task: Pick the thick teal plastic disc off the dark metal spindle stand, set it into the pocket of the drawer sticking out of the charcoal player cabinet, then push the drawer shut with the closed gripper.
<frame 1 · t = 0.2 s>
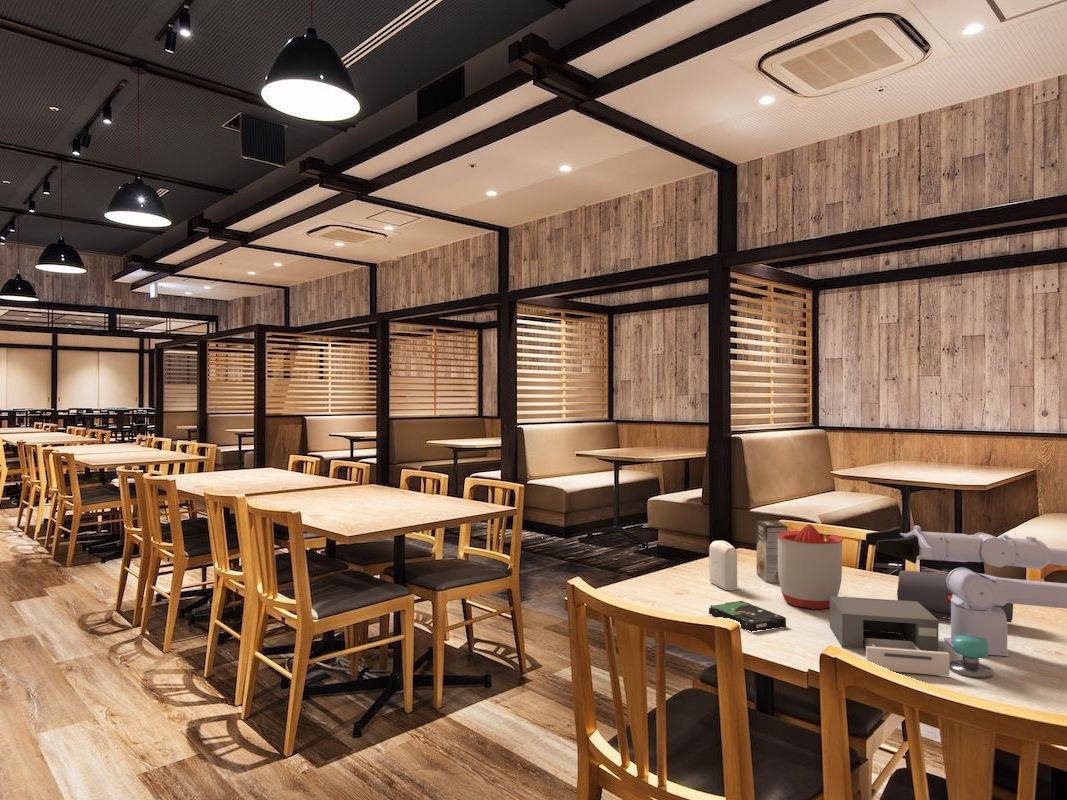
hand: (871, 542, 147), 21 cm above the table, tool horizontal, fingers open, 7 cm apart
bluetooth speaker: (953, 618, 164), on the table
citrus juicer: (810, 603, 176), on the table
disk drive: (746, 623, 161), on the table
player cabinet: (883, 643, 146), on the table
spindle stand: (970, 671, 131), on the table
drawer: (896, 647, 137), point 2 cm above the table, slide at 9.0 cm
disc: (970, 652, 131), point 3 cm above the table, touching spindle stand
coffee box: (771, 579, 200), on the table
photo printer: (722, 587, 191), on the table
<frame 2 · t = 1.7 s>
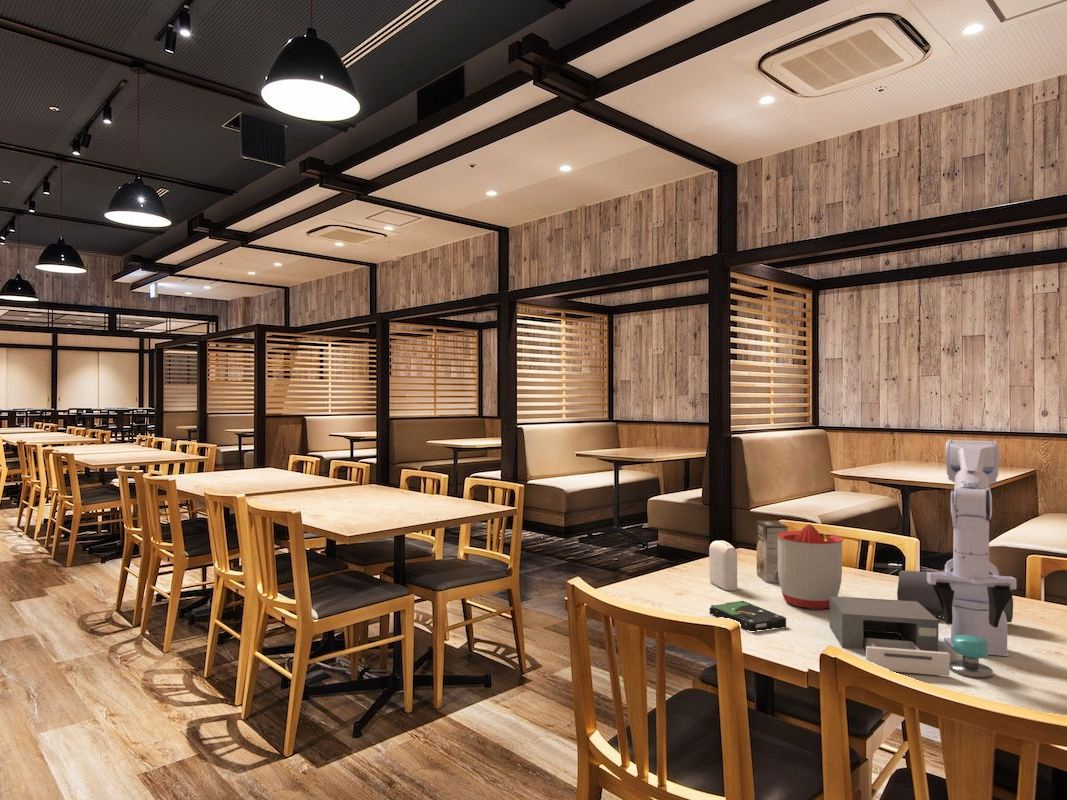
hand: (970, 624, 131), 9 cm above the table, tool pointing down, fingers open, 7 cm apart
nothing on the table moved.
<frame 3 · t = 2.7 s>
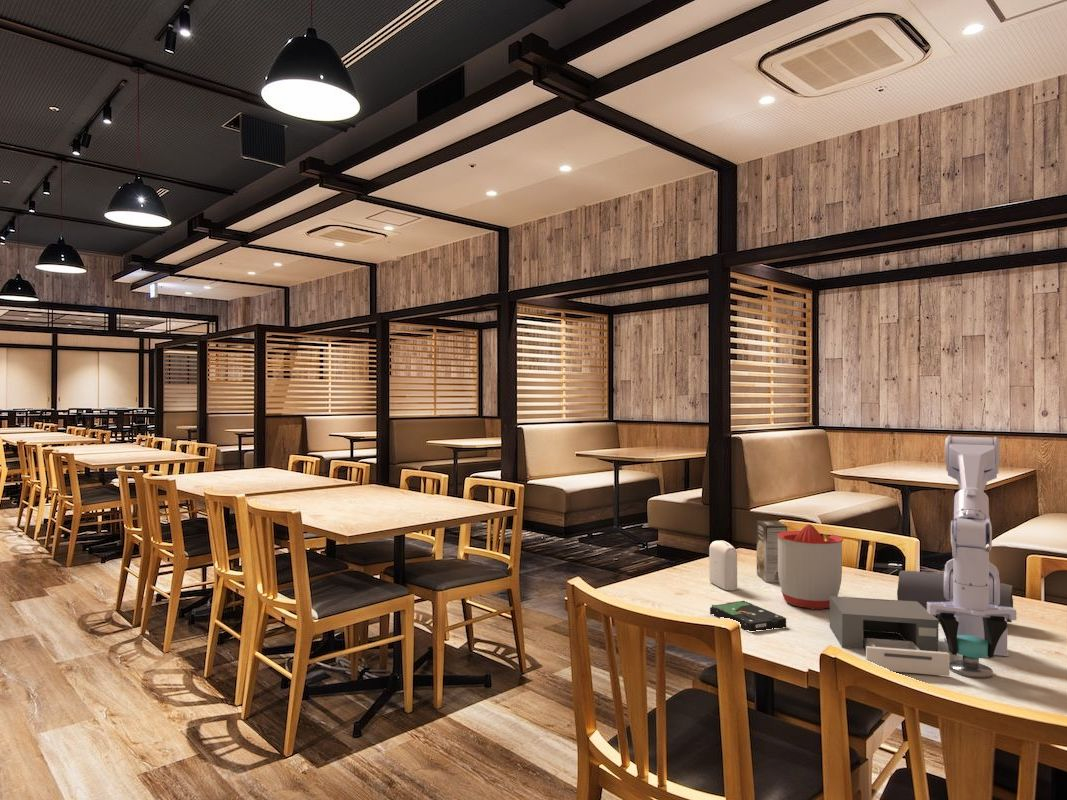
hand: (970, 654, 131), 3 cm above the table, tool pointing down, fingers closed on disc, 5 cm apart
disc: (970, 652, 131), point 3 cm above the table, touching gripper, spindle stand
everything else where it was.
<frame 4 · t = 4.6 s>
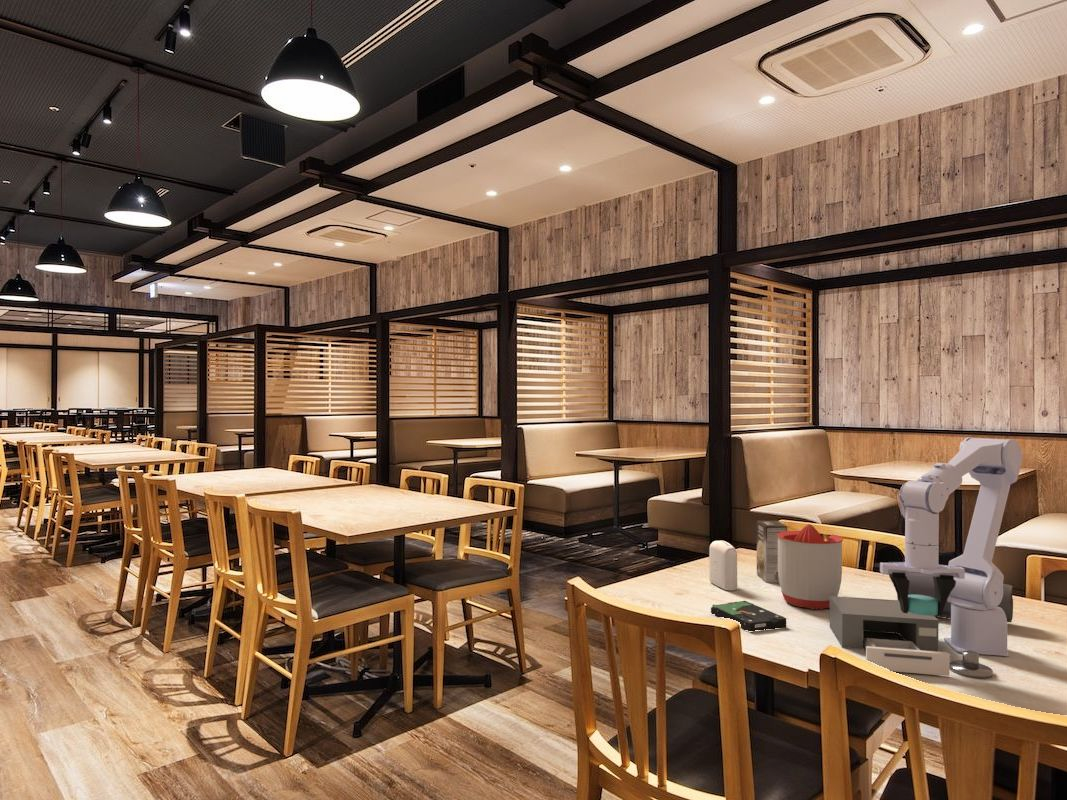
hand: (921, 612, 135), 10 cm above the table, tool pointing down, fingers closed on disc, 5 cm apart
disc: (921, 611, 135), point 10 cm above the table, touching gripper
everything else where it was.
when the fingers open (3 cm above the table, at t = 6.6 s): disc drops 2 cm, resting on drawer.
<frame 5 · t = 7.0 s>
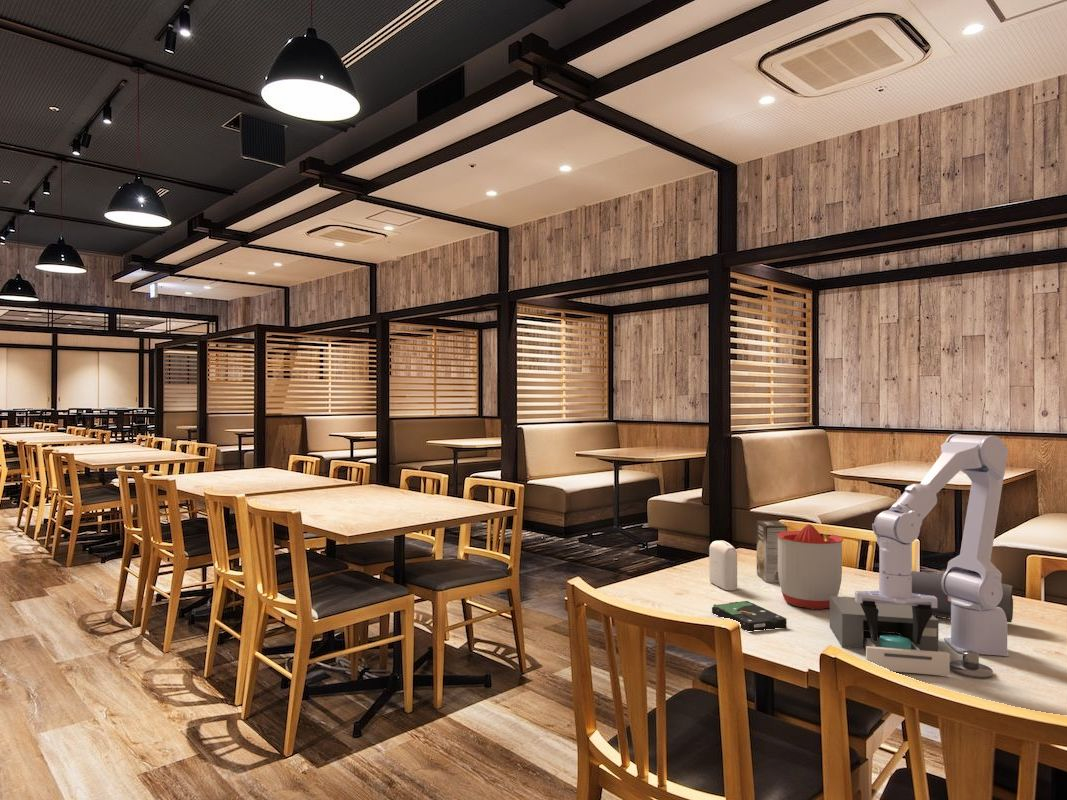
hand: (895, 641, 138), 3 cm above the table, tool pointing down, fingers open, 7 cm apart
drawer: (896, 647, 137), point 2 cm above the table, slide at 9.0 cm, touching disc
disc: (895, 651, 137), point 1 cm above the table, touching drawer
everything else where it was.
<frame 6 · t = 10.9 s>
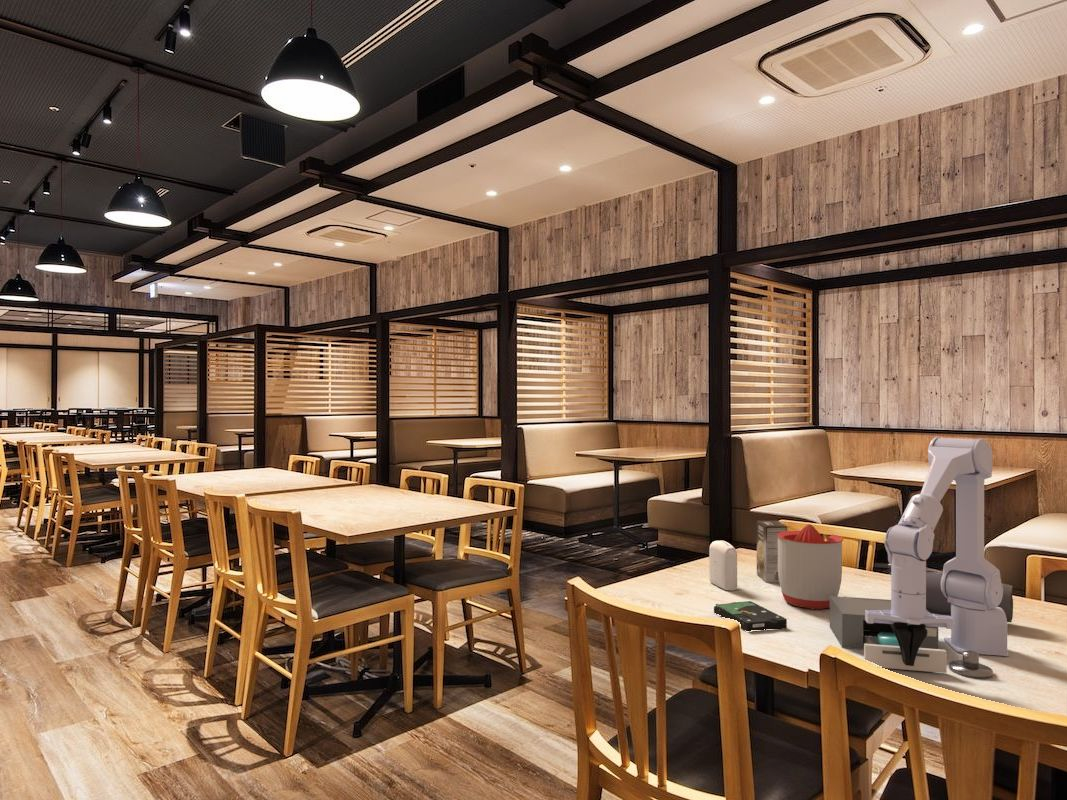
hand: (908, 663, 129), 2 cm above the table, tool pointing down, fingers closed, pressing on drawer
drawer: (894, 645, 138), point 2 cm above the table, slide at 7.5 cm, touching disc, gripper
disc: (893, 649, 139), point 1 cm above the table, touching drawer
everything else where it was.
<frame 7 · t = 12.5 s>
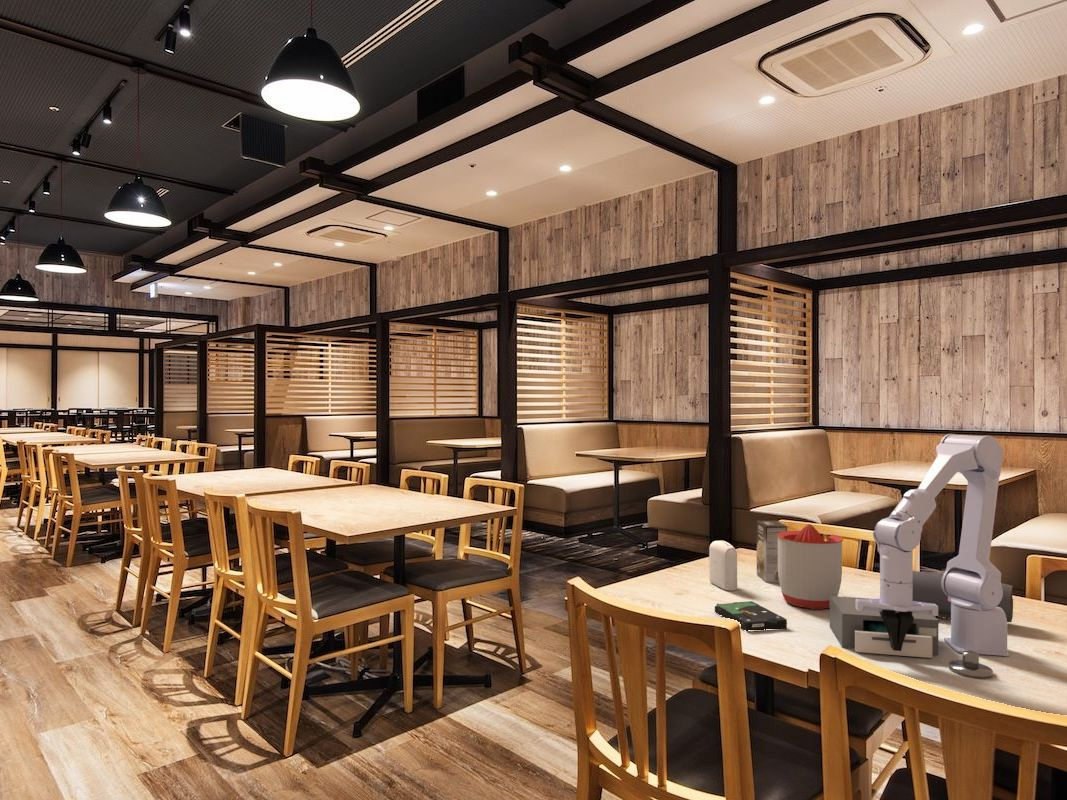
hand: (896, 649, 137), 2 cm above the table, tool pointing down, fingers closed, pressing on drawer
drawer: (883, 632, 146), point 2 cm above the table, slide at -0.3 cm, touching disc, gripper
disc: (882, 636, 146), point 1 cm above the table, touching drawer
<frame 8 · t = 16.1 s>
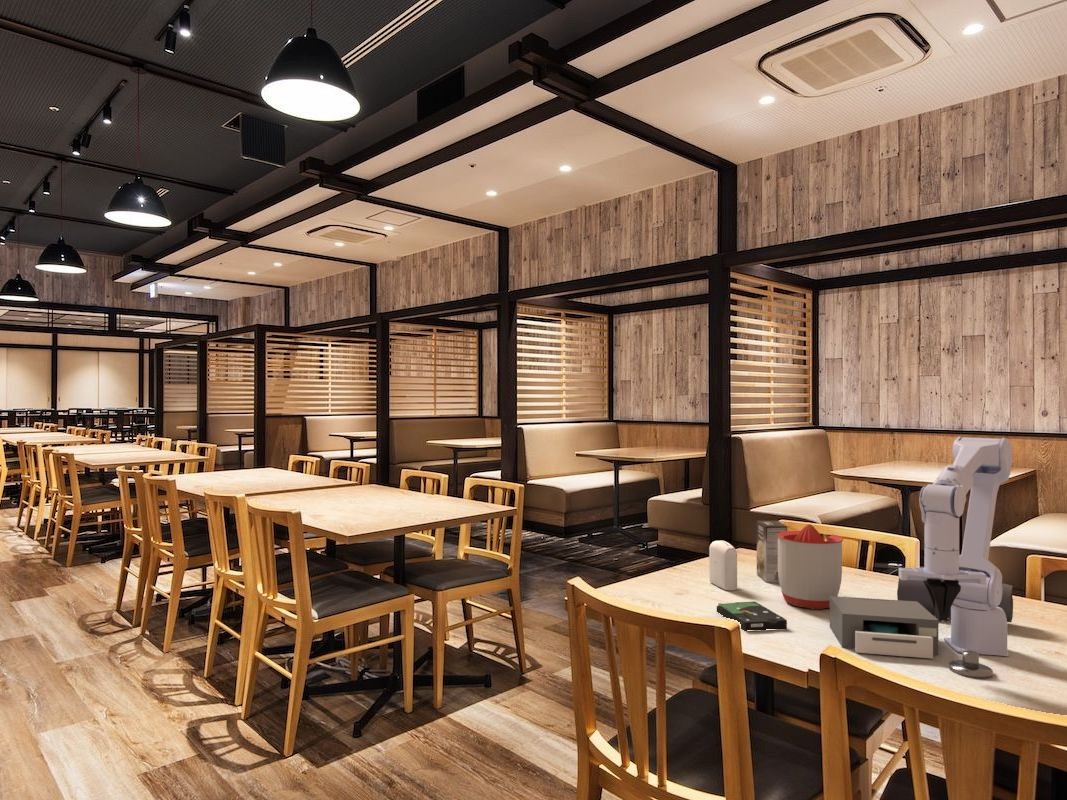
hand: (941, 619, 132), 9 cm above the table, tool pointing down, fingers closed
drawer: (884, 633, 146), point 2 cm above the table, slide at 0.0 cm, touching disc
at the end: drawer slide at 0.0 cm; disc inside the target area on the player cabinet (1.1 cm from its centre), point 1.3 cm above the player cabinet's base; disc touching drawer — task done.
